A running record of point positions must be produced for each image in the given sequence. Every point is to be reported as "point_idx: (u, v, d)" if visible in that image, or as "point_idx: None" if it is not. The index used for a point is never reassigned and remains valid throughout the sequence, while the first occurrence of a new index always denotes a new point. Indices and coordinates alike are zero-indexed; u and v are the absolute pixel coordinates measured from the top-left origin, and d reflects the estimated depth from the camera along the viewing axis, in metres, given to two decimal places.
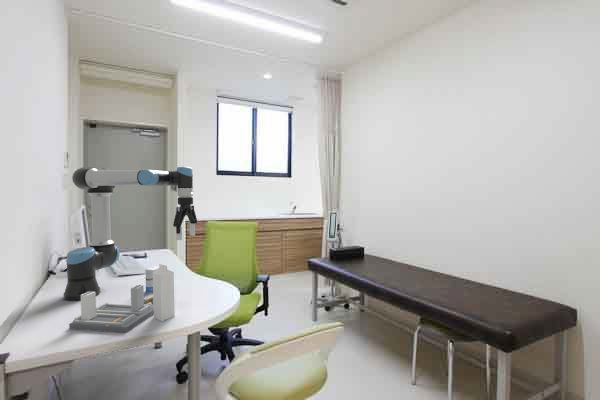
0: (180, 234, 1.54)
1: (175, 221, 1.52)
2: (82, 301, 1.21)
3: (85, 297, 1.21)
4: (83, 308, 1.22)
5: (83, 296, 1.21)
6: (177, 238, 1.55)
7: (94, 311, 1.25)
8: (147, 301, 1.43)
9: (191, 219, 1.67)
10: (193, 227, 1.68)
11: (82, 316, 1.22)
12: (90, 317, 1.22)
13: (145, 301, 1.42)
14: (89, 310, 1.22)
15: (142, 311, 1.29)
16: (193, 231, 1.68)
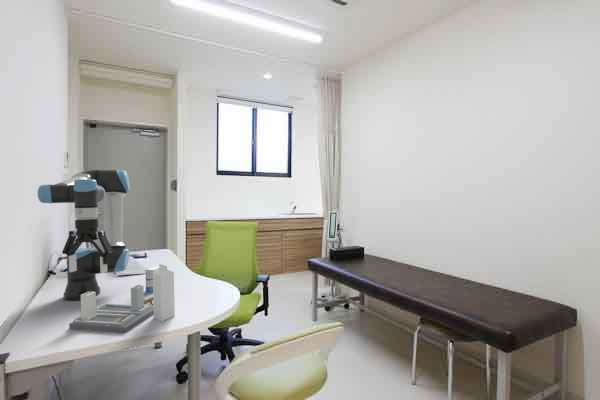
0: None
1: None
2: (82, 301, 1.21)
3: (85, 297, 1.21)
4: (83, 308, 1.22)
5: (83, 296, 1.21)
6: None
7: (94, 311, 1.25)
8: (146, 301, 1.42)
9: None
10: None
11: (82, 316, 1.22)
12: (90, 317, 1.22)
13: (144, 301, 1.42)
14: (89, 310, 1.22)
15: (142, 311, 1.29)
16: None
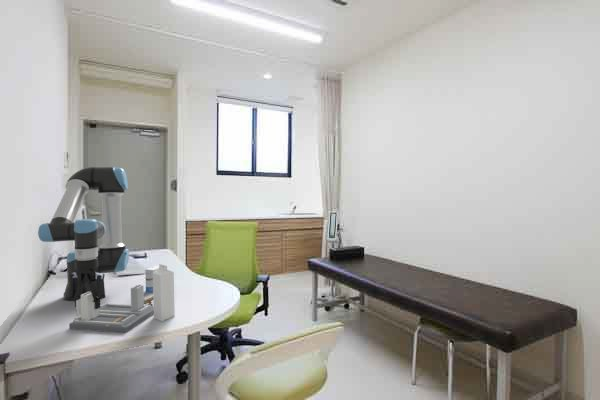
0: None
1: None
2: (82, 301, 1.21)
3: (85, 297, 1.21)
4: (83, 308, 1.22)
5: (83, 296, 1.21)
6: None
7: None
8: (145, 302, 1.42)
9: None
10: None
11: (82, 316, 1.22)
12: (90, 317, 1.22)
13: None
14: (89, 310, 1.22)
15: (142, 311, 1.29)
16: None
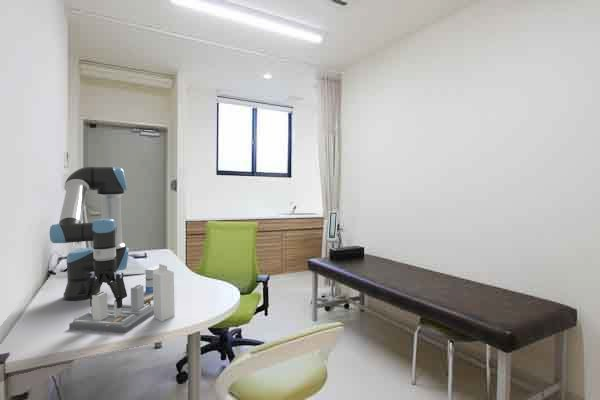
0: None
1: None
2: (94, 302, 1.21)
3: (97, 298, 1.20)
4: (95, 309, 1.21)
5: (95, 297, 1.21)
6: None
7: (106, 312, 1.24)
8: (144, 302, 1.42)
9: None
10: None
11: (94, 316, 1.21)
12: (102, 318, 1.22)
13: None
14: (101, 311, 1.21)
15: (142, 311, 1.29)
16: None
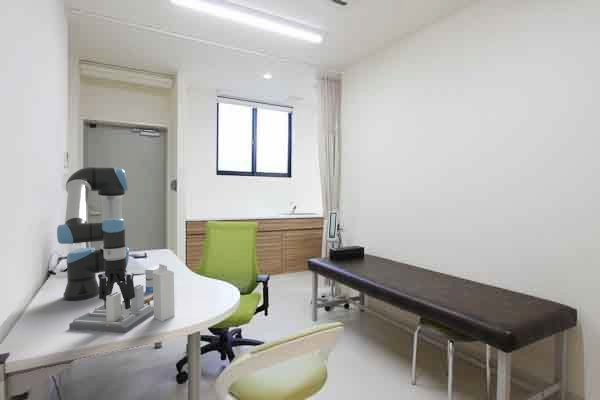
0: None
1: None
2: (108, 302, 1.20)
3: (111, 298, 1.20)
4: (109, 309, 1.20)
5: (109, 297, 1.20)
6: None
7: (119, 313, 1.23)
8: None
9: None
10: None
11: (108, 317, 1.20)
12: (115, 318, 1.21)
13: None
14: (115, 312, 1.21)
15: (142, 311, 1.29)
16: None
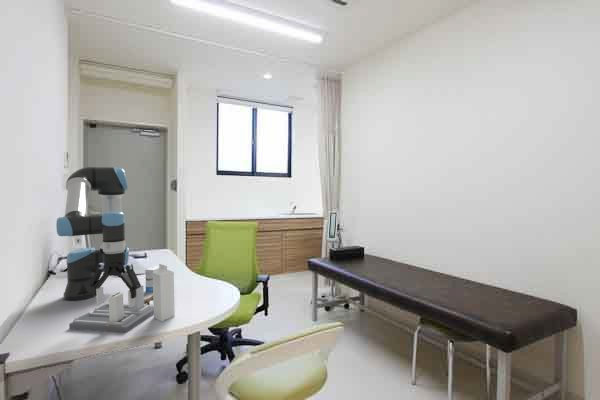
0: None
1: None
2: (110, 302, 1.20)
3: (114, 298, 1.19)
4: (111, 310, 1.20)
5: (111, 297, 1.20)
6: None
7: (122, 313, 1.23)
8: None
9: None
10: None
11: (110, 317, 1.20)
12: (118, 319, 1.21)
13: None
14: (117, 312, 1.20)
15: (142, 311, 1.29)
16: None
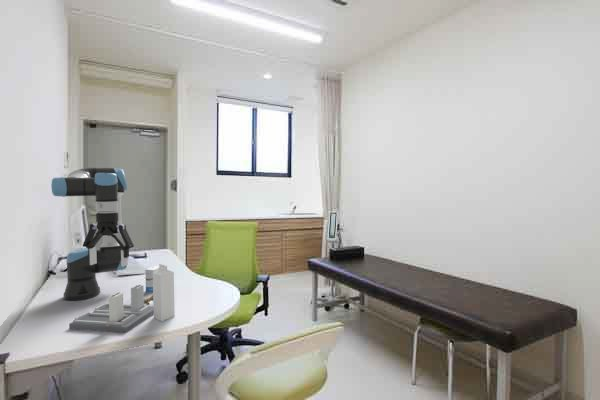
0: None
1: None
2: (110, 302, 1.20)
3: (114, 298, 1.19)
4: (111, 310, 1.20)
5: (111, 297, 1.20)
6: None
7: (122, 313, 1.23)
8: None
9: None
10: None
11: (110, 317, 1.20)
12: (118, 319, 1.21)
13: None
14: (117, 312, 1.20)
15: (142, 311, 1.29)
16: None
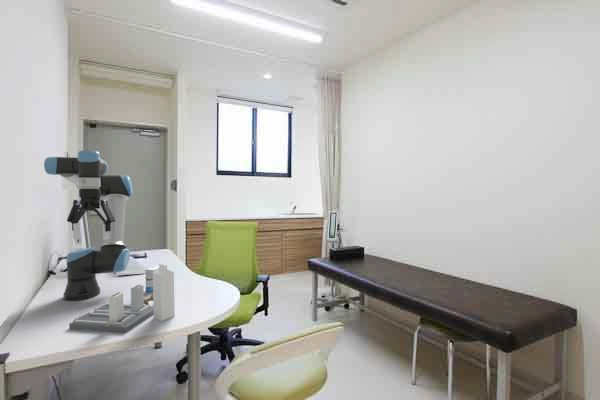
0: None
1: None
2: (110, 302, 1.20)
3: (114, 298, 1.19)
4: (111, 310, 1.20)
5: (111, 297, 1.20)
6: None
7: (122, 313, 1.23)
8: None
9: None
10: None
11: (110, 317, 1.20)
12: (118, 319, 1.21)
13: None
14: (117, 312, 1.20)
15: (142, 311, 1.29)
16: None
